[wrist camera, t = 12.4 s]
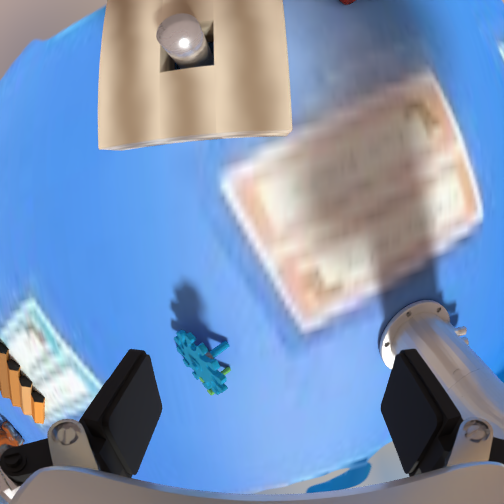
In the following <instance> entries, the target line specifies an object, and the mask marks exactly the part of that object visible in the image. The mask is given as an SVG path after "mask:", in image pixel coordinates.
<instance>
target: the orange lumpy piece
mask: <svg viewBox="0 0 504 504" xmlns="http://www.w3.org/2000/svg"><path fill="white" fill-rule="evenodd" d="M1 427H2V429H3V430H2V429H0V458H1V455H2V454H3V452H4V451H6V450H7V449H9V448H12V447H16V446H20V445H23V442H24V441H25V440H24V439H23V438H22V437H21V436H20V434H18V433H17V432H16V430H15V429H14V427H13V425H12V424H11V423H9V422H7V421H5V422H4V423H3V424H2V426H1Z"/></svg>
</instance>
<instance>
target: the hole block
mask: <svg viewBox="0 0 504 504" xmlns="http://www.w3.org/2000/svg"><path fill="white" fill-rule="evenodd" d="M180 13H185V14H190V15H192V16H194V17H195V18H196V19H197V20H198V22H199V25H200V27H201V29H202V31H203V34H204V36H205V38H206V41H207V42H214V65H211V66H202V67H193V68H186V69H179V70H175V61H174V60H173V59H172V58H171V56H170V55H169V54H168V53H167V52H166V51H165V49H164V48H163V47H162V46H161V45H160V44H159V42H158V41H157V38H156V32H157V29H158V27H159V25H160V24H161V23H162V22H163V21H164V20H165V19H166V18H168V17H170V16H172V15H175V14H180ZM291 131H292V114H291V96H290V81H289V66H288V53H287V41H286V30H285V19H284V9H283V0H107V6H106V12H105V19H104V26H103V34H102V44H101V55H100V68H99V88H98V144H99V149H103V150H121V151H122V150H128V149H135V148H141V147H148V146H155V145H163V144H171V143H180V142H189V141H200V140H212V139H225V138H242V137H268V136H287V135H288V134H289V133H290V132H291Z"/></svg>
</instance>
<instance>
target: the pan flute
mask: <svg viewBox="0 0 504 504" xmlns="http://www.w3.org/2000/svg"><path fill="white" fill-rule="evenodd" d="M0 391H1V394H2V397H4V398H10V399H11V402H12V405H13V406H17V407H21V409H22V411H23V413H24V414H25V415H32V417H33V419H34V421H35V423H42V424H44V419H45V397H43V396H42V395H41V394H39V393H38V392H37V391H35V392H33V393H32V381H30V380H29V379H28V378H26V377H25V376H22V377H21V375H20V365H18V364H17V363H16V362H15V361H14V360H12V359H11V360H9V349H8V348H7V347H6V346H4V345H3V344H2V343H1V342H0Z"/></svg>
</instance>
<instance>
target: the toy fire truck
mask: <svg viewBox="0 0 504 504" xmlns="http://www.w3.org/2000/svg"><path fill="white" fill-rule="evenodd" d="M340 1H341V2H342V3H343V4H345V5H348V4H350V3H353V2H354V1H356V0H340Z"/></svg>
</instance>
